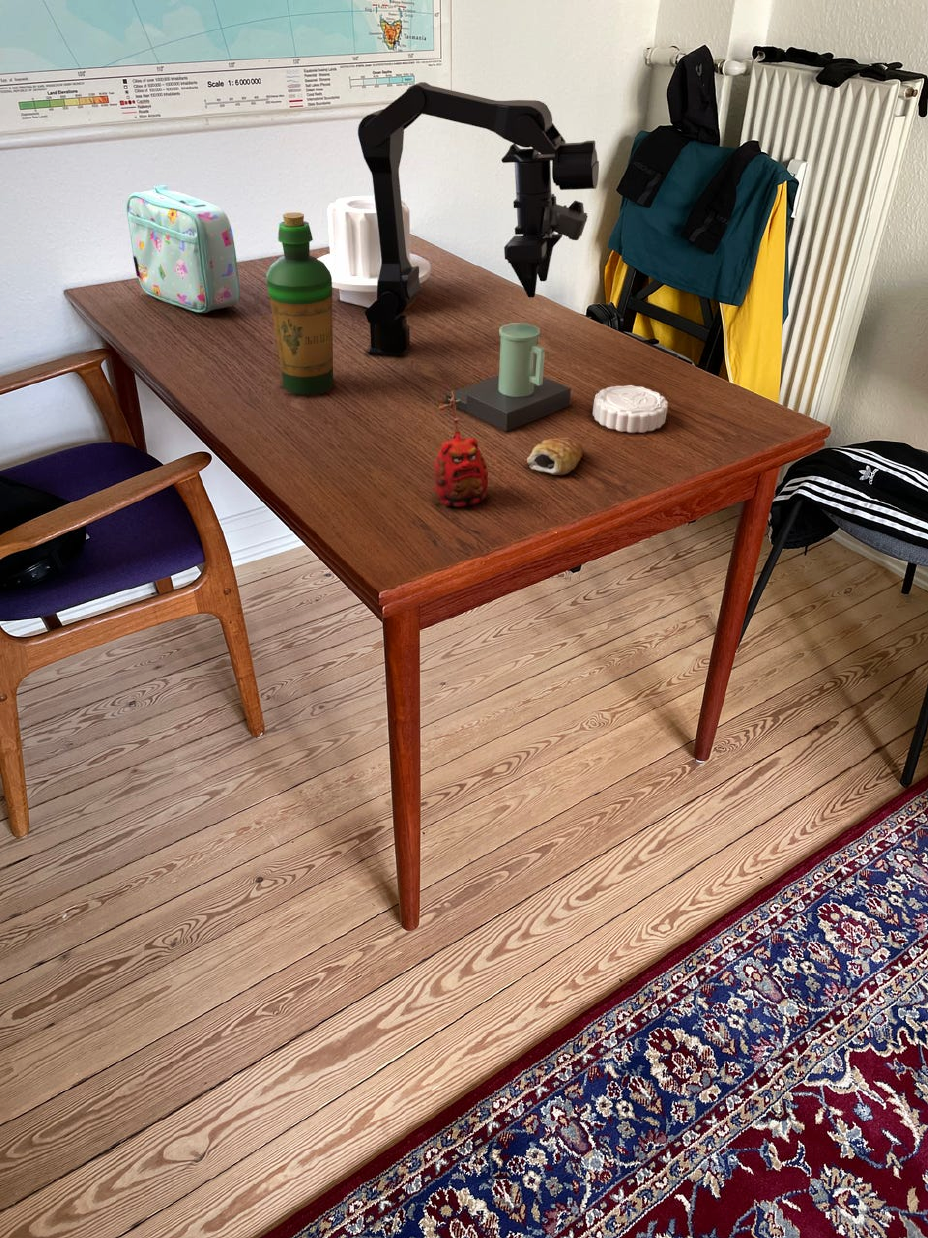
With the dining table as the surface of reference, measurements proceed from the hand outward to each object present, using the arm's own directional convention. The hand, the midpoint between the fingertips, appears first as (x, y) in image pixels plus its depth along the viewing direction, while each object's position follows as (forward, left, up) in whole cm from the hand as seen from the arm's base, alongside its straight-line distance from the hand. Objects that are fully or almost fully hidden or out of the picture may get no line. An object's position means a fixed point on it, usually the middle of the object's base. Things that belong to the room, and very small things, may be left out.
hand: (537, 288), depth 156 cm
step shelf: (-2, -16, -14) cm, 22 cm away
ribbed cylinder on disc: (-39, +30, -15) cm, 51 cm away
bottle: (-37, -17, -15) cm, 43 cm away
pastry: (+8, -35, -15) cm, 39 cm away
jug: (0, -18, -11) cm, 21 cm away
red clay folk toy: (-4, -48, -15) cm, 51 cm away
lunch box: (-75, +18, -15) cm, 79 cm away
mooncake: (+18, -16, -15) cm, 29 cm away
